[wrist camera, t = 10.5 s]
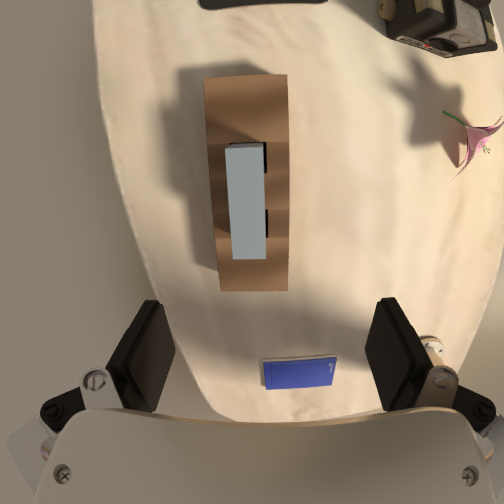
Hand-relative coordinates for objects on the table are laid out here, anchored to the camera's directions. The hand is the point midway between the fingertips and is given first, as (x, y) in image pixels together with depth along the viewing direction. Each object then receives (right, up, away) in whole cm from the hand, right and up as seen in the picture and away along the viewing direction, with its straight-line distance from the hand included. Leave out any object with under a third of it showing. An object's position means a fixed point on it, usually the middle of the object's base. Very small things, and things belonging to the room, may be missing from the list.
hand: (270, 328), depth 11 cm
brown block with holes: (-1, +11, +20) cm, 23 cm away
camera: (+19, +34, +8) cm, 40 cm away
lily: (+27, +19, +15) cm, 36 cm away
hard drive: (+8, -18, +35) cm, 40 cm away
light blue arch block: (-1, +11, +20) cm, 23 cm away
